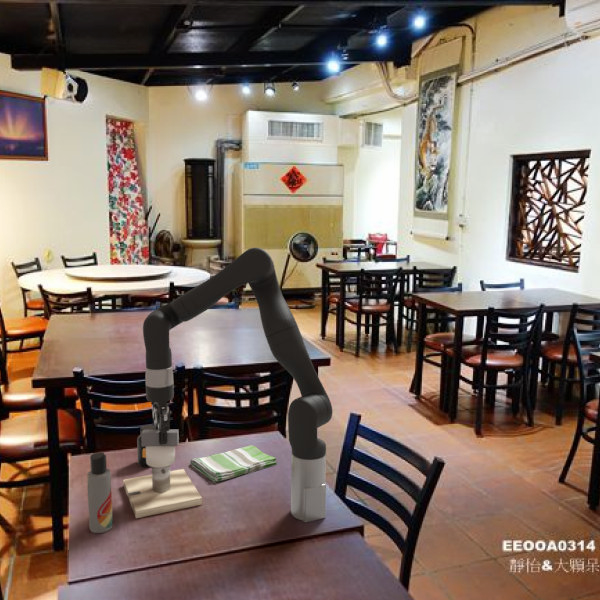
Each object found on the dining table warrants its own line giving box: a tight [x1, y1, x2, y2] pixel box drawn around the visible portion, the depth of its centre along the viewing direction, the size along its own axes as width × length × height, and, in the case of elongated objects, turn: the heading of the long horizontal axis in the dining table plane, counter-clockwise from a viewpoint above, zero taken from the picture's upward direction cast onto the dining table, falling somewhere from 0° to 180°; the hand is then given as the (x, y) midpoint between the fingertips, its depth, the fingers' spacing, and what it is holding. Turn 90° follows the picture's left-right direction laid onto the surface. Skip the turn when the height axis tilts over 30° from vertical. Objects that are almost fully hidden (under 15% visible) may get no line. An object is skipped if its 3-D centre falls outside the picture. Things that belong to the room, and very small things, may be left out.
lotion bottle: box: [86, 451, 113, 534], centre depth 151 cm, size 6×6×20 cm
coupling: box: [140, 428, 180, 468], centre depth 167 cm, size 10×8×9 cm
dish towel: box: [190, 444, 278, 484], centre depth 190 cm, size 17×23×4 cm
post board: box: [122, 465, 203, 519], centre depth 169 cm, size 20×18×10 cm
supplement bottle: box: [136, 424, 156, 468], centre depth 190 cm, size 7×7×12 cm
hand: (161, 440), depth 167 cm, fingers closed on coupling, 3 cm apart
